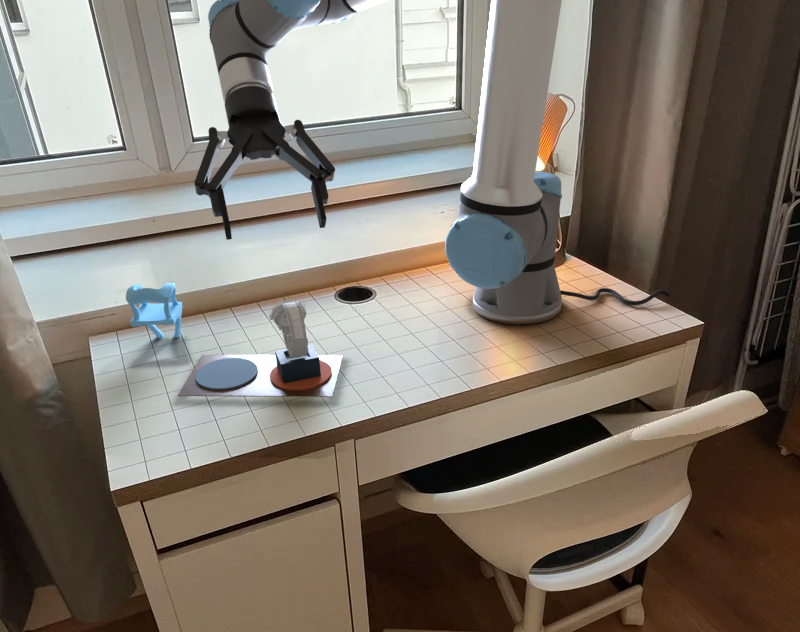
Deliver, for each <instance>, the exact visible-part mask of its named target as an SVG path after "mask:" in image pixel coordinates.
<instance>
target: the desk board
mask: <svg viewBox="0 0 800 632" xmlns="http://www.w3.org/2000/svg"><path fill="white" fill-rule="evenodd" d="M318 356H319V360H322V361H324V362H326V363H327V364H328V365H329V366H330V367H331V370H332V374H331V377H330V378H329V380H328V381H326V382H325V383H324V384H322V385H320V386H318V387H315V388H312V389H307V390H298V391H294V390H285V389H281V388H279V387H277V386H275V385H274V384H273V383H272V382H271V380H270V373H271V371H272V370H273V368H275V367H276V366H277V362H276V355H275V354H201V356H200V358H199V359H198V362H197V363H196V364H195V366H194V368H193V369H192V371H191V373H190V375H189V376H188V378H187V380H186V381H185V383H184V384H183V386H182V388H181V389H180V391H179V393H178V394H177V396H178V397H289V398H290V397H292V398H293V397H300V398H302V397H304V398H305V397H307V398H311V397H313V398H319V397H320V398H332V397H334V394H335V390H336V385H337V383H338V377H339V373H340V370H341V366H342V361H343V358H344V355H343V354H318ZM225 358H243V359H247V360H250V361H252V362H254V363H255V364H256V365H257V368H258V373H257V375H256V377H255V378H254V379H253V380H252V381H250V382H249V383H247V384H245V385H243V386H240V387H237V388H233V389H228V390H211V389H207V388H204V387H202V386H200V385H199V384H198V383H197V382H196V377H195V376H196V373H197V371H198V370H199V369H200V368H201V367H203V366H204V365H206V364H208V363H210V362H213V361H216V360H219V359H225Z"/></svg>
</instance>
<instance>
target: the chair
mask: <svg viewBox="0 0 800 632" xmlns="http://www.w3.org/2000/svg"><path fill="white" fill-rule="evenodd" d="M176 289H177V288H176V283H175V282H173V281H172V282H170V283H169V282H166V283H164V284H163V286H162V287H161V288H152V287H144V288H143V285H142V283H138V284H133V285H131V286H129V287H128V288H127V289H126V293H125V300H126V302H127V304H128V305H129V307H130V308H131V309H132V312H133V316H132V318H131V319H130V322H129V323H130V327H132V328H134V327H144V326H147V327H148V329H149V330H150V331H151V332H152V333H153V334H154V335H155V336H156V338H157V339H159V340H161V339H163V338H164V337H165V335H164V333H163V332H162V331H161V330H160V329H159V328H158V326H160V325H161V326H172V325H173V326H174V335H173V338H175V339H179V338H180V337H181V329H182V328H181V327H182V312H183V307H184V306H183V302H182V301H178V300H177V297H176V291H177V290H176ZM151 302H152V303H151ZM138 304H139V305H138ZM136 305H138V307H137V306H136ZM156 325H157V326H156Z"/></svg>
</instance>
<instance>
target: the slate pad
mask: <svg viewBox="0 0 800 632" xmlns="http://www.w3.org/2000/svg"><path fill="white" fill-rule="evenodd" d="M257 373H258V368H257V365H256V364H255V363H254V362H252V361H250V360H247V359H243V358H225V359H219V360H216V361H213V362H210V363H208V364H206V365H204V366H203V367H201V368H200V369H199V370H198V371H197V373H196V376H195V377H196V382H197V383H198V384H199V385H200V386H202V387H204V388H207V389H211V390H228V389H233V388H237V387H240V386H243V385H245V384H247V383H249V382H250V381H252V380H253V379H254V378H255V377H256V375H257Z"/></svg>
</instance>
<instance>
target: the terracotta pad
mask: <svg viewBox="0 0 800 632" xmlns="http://www.w3.org/2000/svg"><path fill="white" fill-rule="evenodd" d="M319 361H320V371H321V376H319V377H314V378H309V379H304V380H299V381H294V382H288V383H283V381H282V379H281V377H280V374H279V372H278V369H277V366H276V367H275V368H273V370H272V371H271V373H270V380H271V382H272V383H273V384H274V385H275V386H277V387H279V388H281V389H285V390H294V391H298V390H307V389H312V388H315V387H318V386H320V385H322V384H324V383H325V382H326V381H328V380H329V378H330V377H331V374H332V370H331V367H330V366H329V365H328V364H327V363H326V362H324V361H322V360H319Z"/></svg>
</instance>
